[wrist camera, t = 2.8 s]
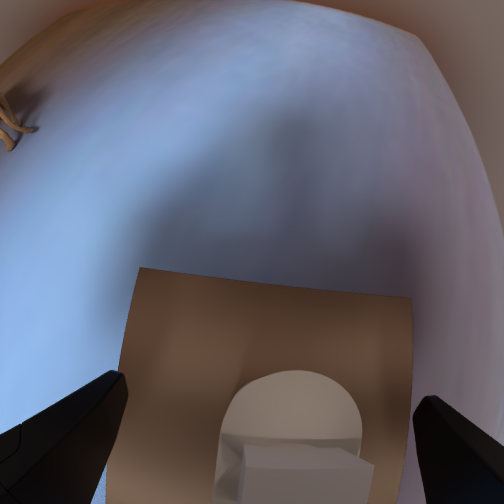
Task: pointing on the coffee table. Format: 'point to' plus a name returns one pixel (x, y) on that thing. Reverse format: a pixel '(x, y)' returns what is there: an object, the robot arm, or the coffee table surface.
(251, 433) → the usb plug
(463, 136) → the coffee table surface
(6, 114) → the lion figurine
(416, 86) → the coffee table surface
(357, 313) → the walnut dock
